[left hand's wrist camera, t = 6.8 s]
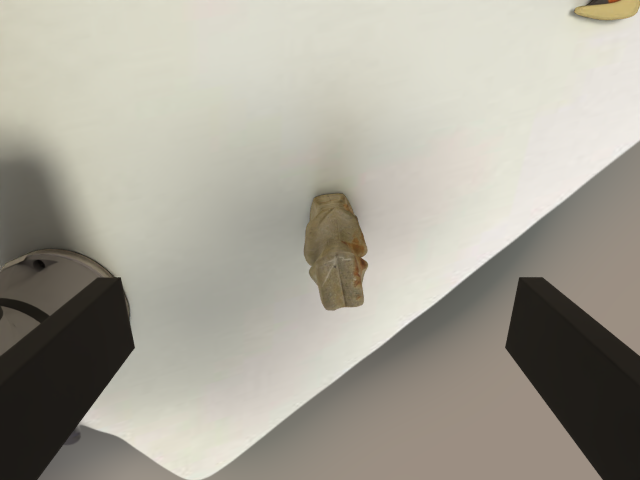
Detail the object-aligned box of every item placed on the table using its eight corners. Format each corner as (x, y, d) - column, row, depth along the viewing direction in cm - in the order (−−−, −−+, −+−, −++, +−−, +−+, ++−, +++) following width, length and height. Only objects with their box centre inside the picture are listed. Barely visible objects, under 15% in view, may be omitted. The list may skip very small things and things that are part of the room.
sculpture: (310, 250, 45) (305, 320, 31) (303, 190, 43) (295, 236, 29) (359, 246, 45) (377, 314, 31) (356, 185, 42) (373, 229, 28)
